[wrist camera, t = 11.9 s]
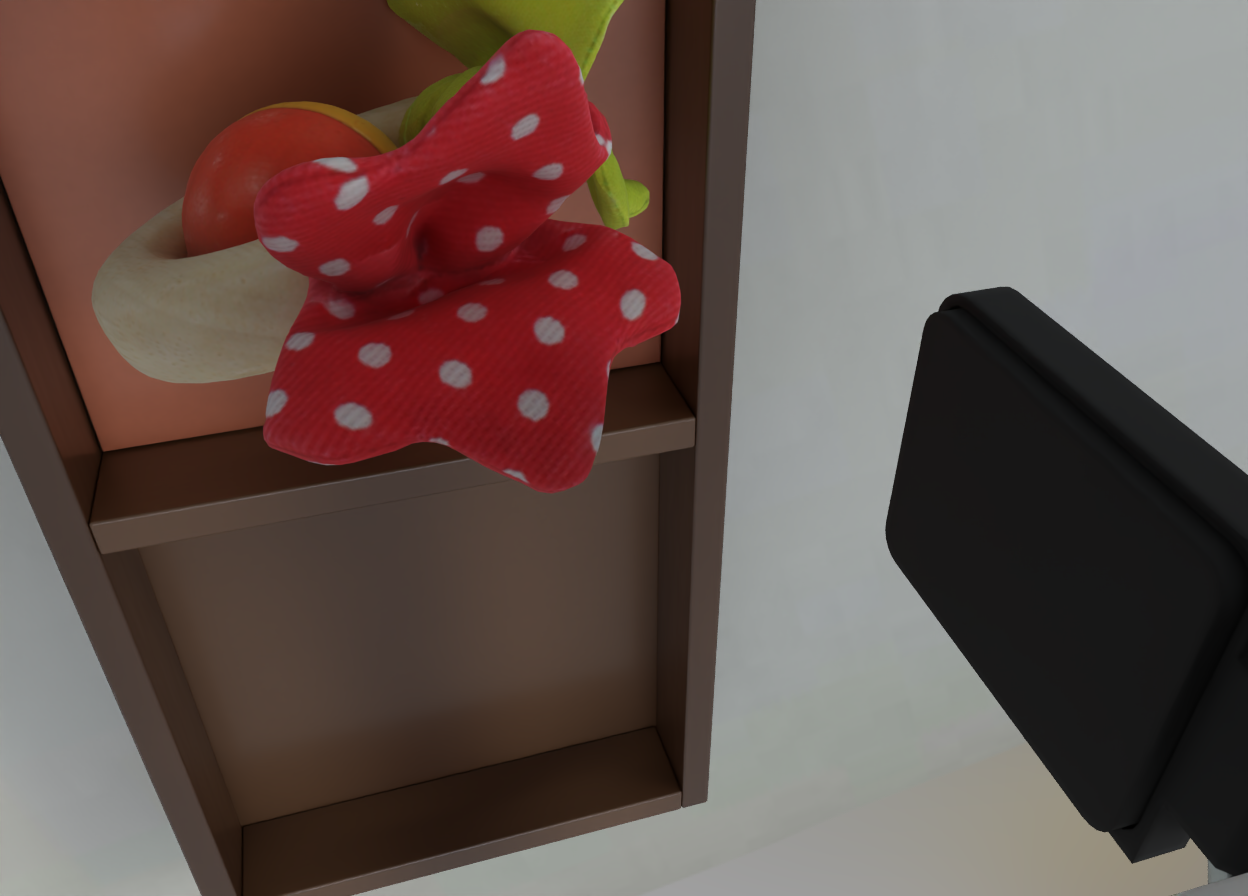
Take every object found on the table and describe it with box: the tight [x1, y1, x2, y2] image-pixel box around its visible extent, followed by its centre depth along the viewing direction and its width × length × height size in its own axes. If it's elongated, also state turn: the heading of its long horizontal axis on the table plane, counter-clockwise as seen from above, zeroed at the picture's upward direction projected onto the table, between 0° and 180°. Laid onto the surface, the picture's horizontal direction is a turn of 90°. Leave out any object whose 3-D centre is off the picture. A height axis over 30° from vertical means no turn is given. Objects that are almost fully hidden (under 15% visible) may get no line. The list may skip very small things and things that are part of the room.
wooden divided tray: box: [0, 0, 756, 896], centre depth 22 cm, size 14×26×3 cm, turn 1°
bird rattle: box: [91, 0, 681, 493], centre depth 15 cm, size 6×11×9 cm
